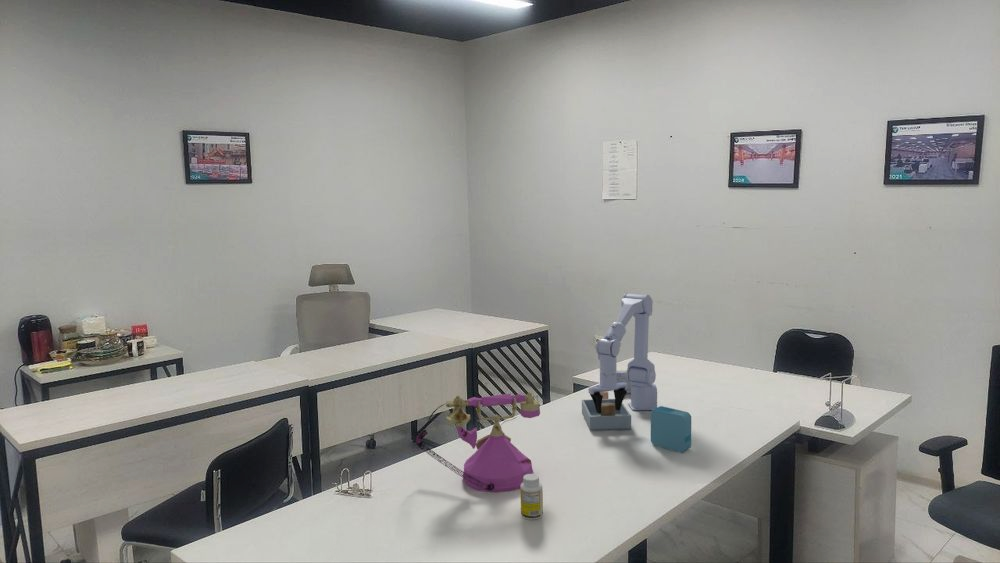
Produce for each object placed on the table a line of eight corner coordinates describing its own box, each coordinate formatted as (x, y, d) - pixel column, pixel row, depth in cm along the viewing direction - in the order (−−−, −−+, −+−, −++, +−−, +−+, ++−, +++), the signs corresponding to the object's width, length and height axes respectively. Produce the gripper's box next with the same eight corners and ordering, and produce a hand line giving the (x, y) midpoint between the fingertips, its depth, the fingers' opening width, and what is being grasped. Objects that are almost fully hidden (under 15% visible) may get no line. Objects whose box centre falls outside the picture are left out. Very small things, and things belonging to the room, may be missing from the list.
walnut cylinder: (610, 421, 227) (609, 401, 226) (618, 425, 223) (618, 405, 222) (598, 423, 225) (597, 404, 224) (606, 427, 221) (605, 408, 220)
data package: (691, 449, 201) (691, 412, 200) (684, 453, 198) (684, 416, 197) (657, 440, 210) (657, 405, 208) (650, 444, 206) (650, 408, 205)
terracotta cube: (606, 400, 253) (605, 388, 252) (608, 404, 248) (608, 392, 247) (593, 401, 253) (593, 388, 252) (595, 405, 248) (595, 392, 247)
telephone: (533, 459, 197) (531, 379, 194) (551, 490, 175) (550, 402, 172) (416, 470, 191) (412, 388, 188) (420, 504, 169) (416, 412, 166)
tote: (619, 411, 239) (619, 398, 238) (631, 429, 220) (631, 415, 219) (581, 412, 239) (581, 399, 238) (589, 430, 220) (589, 416, 219)
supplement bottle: (529, 508, 165) (529, 470, 164) (547, 514, 162) (546, 475, 160) (516, 516, 161) (515, 477, 160) (534, 523, 157) (533, 483, 156)
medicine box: (633, 390, 265) (633, 370, 264) (634, 393, 261) (634, 373, 260) (614, 390, 266) (614, 370, 265) (615, 393, 261) (615, 373, 260)
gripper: (619, 368, 228) (620, 405, 230) (583, 372, 223) (584, 410, 224) (630, 372, 221) (631, 410, 223) (594, 377, 216) (594, 416, 218)
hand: (608, 411), depth 223 cm, fingers open, 7 cm apart
